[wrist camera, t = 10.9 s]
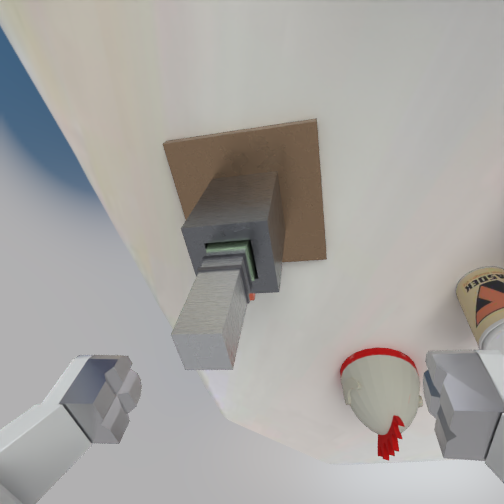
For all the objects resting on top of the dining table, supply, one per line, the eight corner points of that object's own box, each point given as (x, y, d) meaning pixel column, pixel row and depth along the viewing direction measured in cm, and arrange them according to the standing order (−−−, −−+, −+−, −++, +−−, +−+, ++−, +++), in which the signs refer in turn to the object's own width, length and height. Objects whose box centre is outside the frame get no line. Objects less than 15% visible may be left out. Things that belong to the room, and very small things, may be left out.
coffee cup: (512, 252, 49) (565, 310, 39) (524, 299, 53) (574, 362, 43) (442, 274, 52) (474, 332, 42) (458, 316, 56) (490, 379, 46)
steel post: (257, 209, 42) (223, 331, 25) (262, 241, 44) (235, 371, 27) (222, 213, 42) (167, 332, 26) (229, 243, 45) (183, 371, 28)
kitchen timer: (329, 384, 70) (334, 462, 57) (356, 339, 62) (368, 418, 50) (396, 401, 70) (415, 483, 57) (430, 359, 62) (461, 442, 50)
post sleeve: (316, 118, 43) (320, 158, 30) (326, 253, 53) (332, 326, 40) (166, 141, 47) (113, 184, 34) (202, 262, 57) (172, 330, 44)
